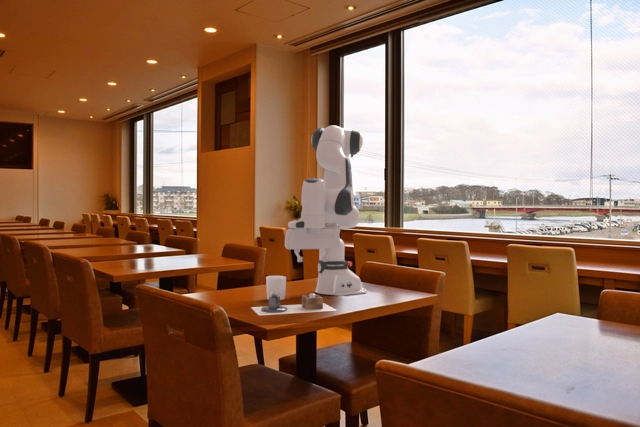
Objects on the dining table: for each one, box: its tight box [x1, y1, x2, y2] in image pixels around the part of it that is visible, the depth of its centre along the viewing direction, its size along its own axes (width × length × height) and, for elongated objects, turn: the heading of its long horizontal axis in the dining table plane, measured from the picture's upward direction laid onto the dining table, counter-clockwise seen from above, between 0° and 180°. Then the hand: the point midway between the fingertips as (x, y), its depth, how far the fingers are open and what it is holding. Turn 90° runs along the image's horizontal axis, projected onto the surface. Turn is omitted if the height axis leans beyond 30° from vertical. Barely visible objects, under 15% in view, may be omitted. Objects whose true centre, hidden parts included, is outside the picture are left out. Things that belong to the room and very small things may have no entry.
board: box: [250, 302, 338, 317], centre depth 183 cm, size 28×14×2 cm, turn 109°
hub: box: [261, 294, 287, 313], centre depth 180 cm, size 9×9×6 cm
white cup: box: [265, 275, 287, 301], centre depth 202 cm, size 8×8×10 cm
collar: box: [301, 294, 324, 310], centre depth 185 cm, size 6×6×4 cm
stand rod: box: [308, 293, 316, 298], centre depth 185 cm, size 2×2×5 cm
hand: (312, 261), depth 184 cm, fingers open, 8 cm apart
